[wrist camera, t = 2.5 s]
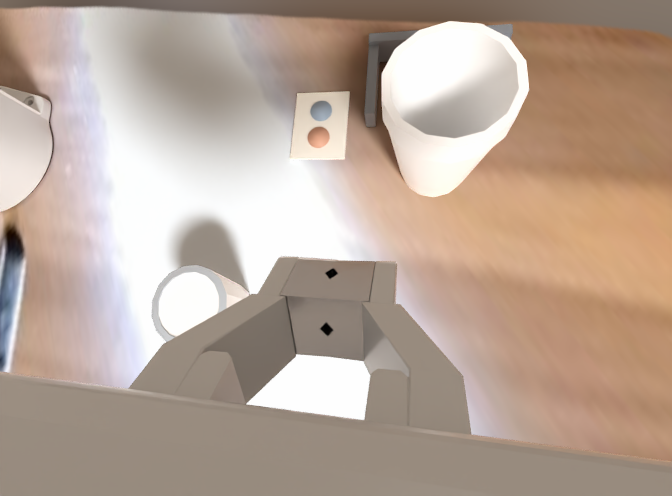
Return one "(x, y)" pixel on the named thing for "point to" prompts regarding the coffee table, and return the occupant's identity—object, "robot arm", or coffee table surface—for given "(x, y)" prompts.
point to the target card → (320, 126)
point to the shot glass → (191, 299)
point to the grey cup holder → (381, 52)
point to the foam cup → (450, 101)
